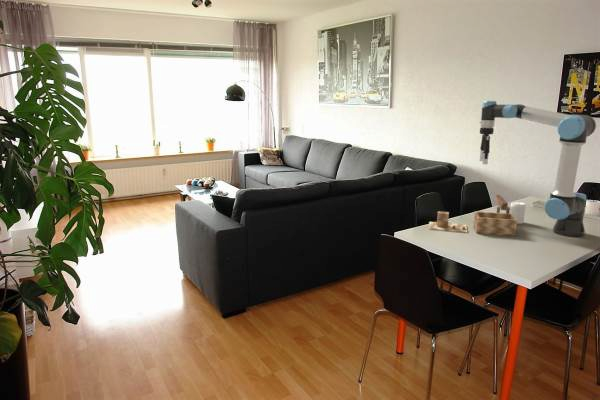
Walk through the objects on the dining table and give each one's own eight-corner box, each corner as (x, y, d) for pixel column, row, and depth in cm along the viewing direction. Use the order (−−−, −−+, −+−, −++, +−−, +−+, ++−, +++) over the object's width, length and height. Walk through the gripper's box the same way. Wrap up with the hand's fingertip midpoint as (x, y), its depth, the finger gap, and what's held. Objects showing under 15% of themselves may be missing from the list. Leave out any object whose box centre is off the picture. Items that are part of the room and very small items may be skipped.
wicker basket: (508, 226, 258) (510, 207, 255) (515, 236, 239) (517, 215, 236) (471, 223, 263) (473, 204, 260) (476, 233, 244) (478, 213, 241)
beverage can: (509, 223, 263) (511, 204, 261) (508, 220, 271) (510, 201, 268) (524, 225, 261) (526, 205, 258) (522, 221, 268) (525, 202, 265)
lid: (465, 226, 258) (467, 211, 256) (467, 233, 245) (468, 217, 243) (429, 223, 264) (430, 208, 262) (428, 230, 251) (429, 214, 249)
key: (500, 201, 274) (500, 194, 273) (507, 210, 252) (507, 203, 251) (494, 200, 275) (495, 194, 274) (501, 209, 253) (502, 203, 252)
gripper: (477, 125, 276) (474, 159, 280) (483, 128, 252) (479, 165, 257) (490, 126, 274) (487, 160, 278) (497, 128, 250) (493, 165, 255)
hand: (483, 162), depth 268 cm, fingers open, 13 cm apart
